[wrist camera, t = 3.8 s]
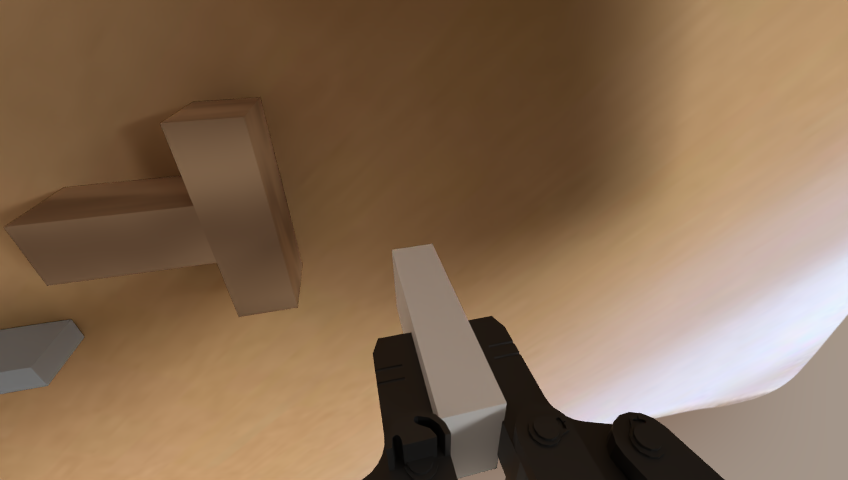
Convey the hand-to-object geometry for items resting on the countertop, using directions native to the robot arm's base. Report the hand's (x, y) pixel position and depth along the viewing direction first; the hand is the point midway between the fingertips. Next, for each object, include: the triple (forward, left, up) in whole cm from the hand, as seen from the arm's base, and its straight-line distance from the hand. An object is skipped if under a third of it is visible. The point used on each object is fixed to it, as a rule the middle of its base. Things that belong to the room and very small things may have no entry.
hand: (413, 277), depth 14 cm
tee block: (0, -11, -9) cm, 14 cm away
